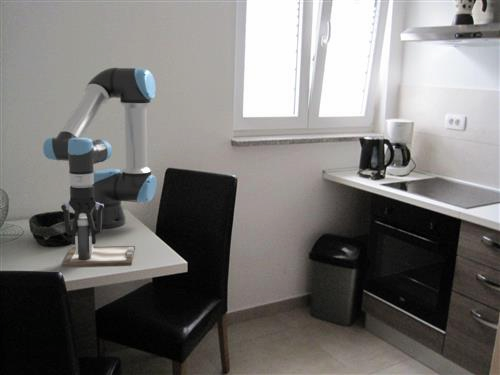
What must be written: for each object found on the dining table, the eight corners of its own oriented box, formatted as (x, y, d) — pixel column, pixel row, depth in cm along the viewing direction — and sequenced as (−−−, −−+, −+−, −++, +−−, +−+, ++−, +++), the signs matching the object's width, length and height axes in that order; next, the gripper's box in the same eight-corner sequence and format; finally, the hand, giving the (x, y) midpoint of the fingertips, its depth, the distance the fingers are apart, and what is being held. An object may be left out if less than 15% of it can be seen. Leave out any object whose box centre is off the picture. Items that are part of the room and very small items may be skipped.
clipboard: (72, 249, 171) (72, 243, 171) (135, 248, 175) (135, 242, 174) (62, 266, 156) (62, 260, 156) (131, 264, 159) (131, 258, 159)
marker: (78, 256, 162) (77, 216, 159) (91, 255, 163) (90, 216, 160) (77, 260, 158) (75, 220, 155) (90, 260, 159) (89, 220, 156)
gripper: (52, 187, 150) (55, 257, 155) (106, 188, 153) (108, 256, 158) (57, 182, 157) (61, 249, 162) (110, 183, 160) (111, 249, 165)
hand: (84, 253), depth 160 cm, fingers closed on marker, 4 cm apart
